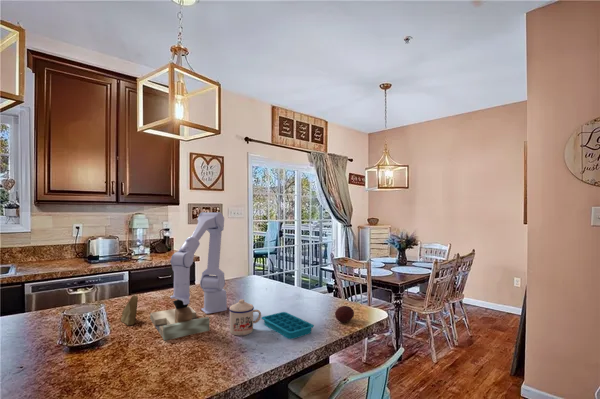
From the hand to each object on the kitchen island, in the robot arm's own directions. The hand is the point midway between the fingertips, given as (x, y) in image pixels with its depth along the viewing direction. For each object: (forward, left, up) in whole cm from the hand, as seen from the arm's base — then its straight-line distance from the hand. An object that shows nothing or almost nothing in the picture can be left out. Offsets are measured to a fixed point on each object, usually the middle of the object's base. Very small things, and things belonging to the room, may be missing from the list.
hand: (181, 318), depth 123 cm
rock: (+16, -20, -4) cm, 26 cm away
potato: (-56, +30, -4) cm, 64 cm away
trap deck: (0, -5, -4) cm, 6 cm away
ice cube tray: (-33, +23, -4) cm, 41 cm away
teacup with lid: (-19, +16, -4) cm, 25 cm away
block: (0, +3, -1) cm, 3 cm away
